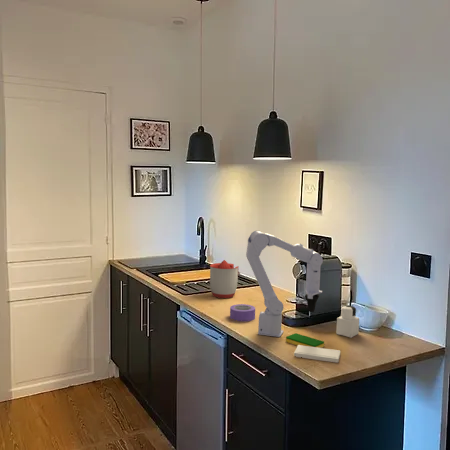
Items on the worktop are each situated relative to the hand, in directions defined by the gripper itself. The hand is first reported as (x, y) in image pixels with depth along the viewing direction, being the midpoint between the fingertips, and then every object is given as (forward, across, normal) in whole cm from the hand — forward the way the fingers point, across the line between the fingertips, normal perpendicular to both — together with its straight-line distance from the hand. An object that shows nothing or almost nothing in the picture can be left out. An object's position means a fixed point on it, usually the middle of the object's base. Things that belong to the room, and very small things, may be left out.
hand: (311, 311), depth 204 cm
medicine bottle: (+10, +5, -15) cm, 18 cm away
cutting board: (+9, -25, -6) cm, 27 cm away
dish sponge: (+10, -14, 0) cm, 18 cm away
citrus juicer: (+10, +45, +53) cm, 70 cm away
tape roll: (+10, +10, +33) cm, 36 cm away
